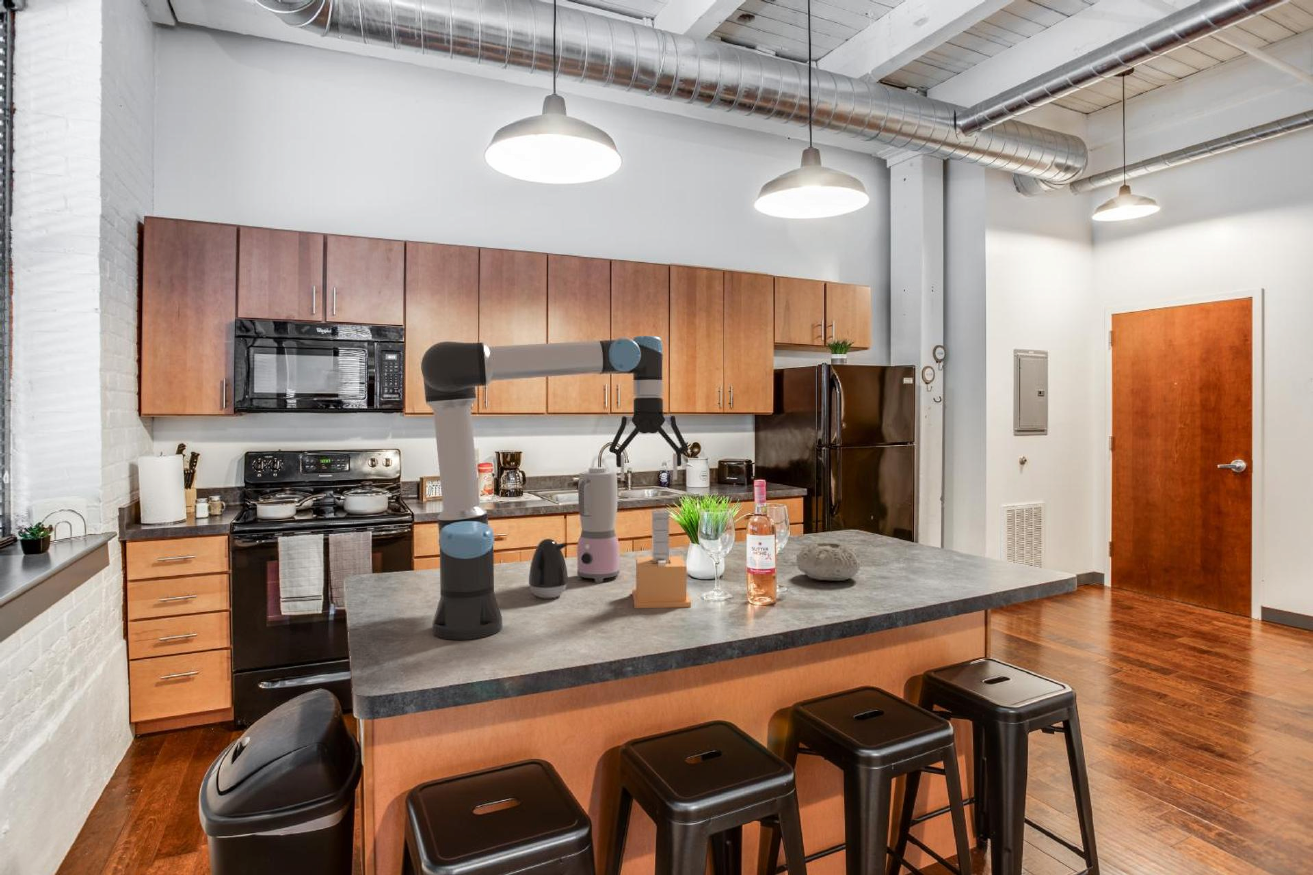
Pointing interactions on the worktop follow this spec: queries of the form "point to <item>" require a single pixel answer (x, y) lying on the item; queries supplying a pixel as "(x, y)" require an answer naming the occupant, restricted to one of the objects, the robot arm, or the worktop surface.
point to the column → (660, 536)
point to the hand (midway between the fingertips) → (648, 479)
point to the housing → (660, 583)
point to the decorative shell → (828, 561)
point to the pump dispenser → (548, 570)
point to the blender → (597, 525)
